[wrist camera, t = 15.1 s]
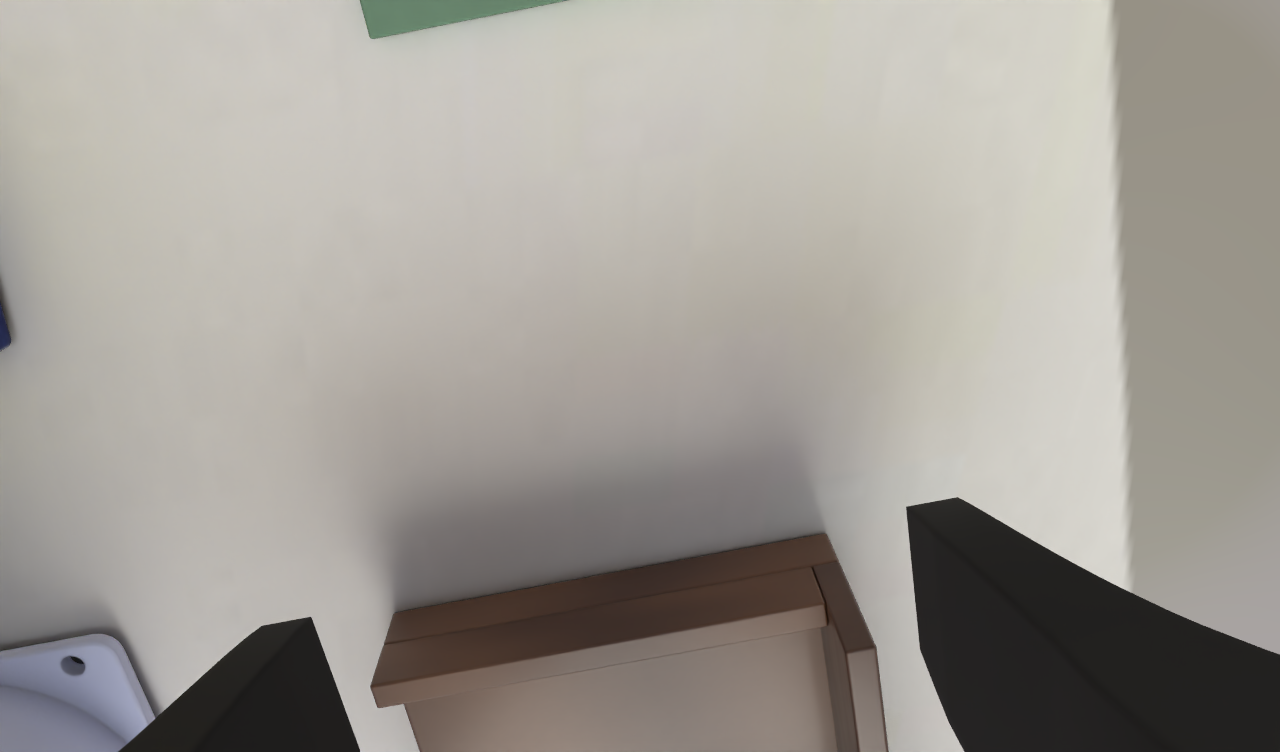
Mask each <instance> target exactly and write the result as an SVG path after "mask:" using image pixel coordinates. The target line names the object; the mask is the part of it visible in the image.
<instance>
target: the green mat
mask: <svg viewBox="0 0 1280 752" xmlns="http://www.w3.org/2000/svg"><path fill="white" fill-rule="evenodd" d="M562 1H567V0H360V3H361V6H362V10H363V14H364V18H365V21H366V25H367V29H368V32H369V36H370V38H371V39H375V38H380V37H386V36H391V35H396V34H401V33H406V32H411V31H416V30H421V29H426V28H431V27H436V26H441V25H446V24H451V23H456V22H461V21H466V20H471V19H476V18H481V17H486V16H491V15H496V14H501V13H506V12H511V11H516V10H521V9H526V8H532V7H537V6H542V5H547V4H552V3H557V2H562Z"/></svg>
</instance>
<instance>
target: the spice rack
mask: <svg viewBox="0 0 1280 752" xmlns="http://www.w3.org/2000/svg"><path fill="white" fill-rule="evenodd" d="M370 687H371V690H372V693H373V696H374V699H375V702H376V705H377V707H378V708H383V707H389V706H394V705H400V704H404V706H405V709H406V712H407V715H408V718H409V721H410V724H411V727H412V730H413V733H414V736H415V739H416V742H417V744H418V747H419V750H420V752H889V751H888V742H887V734H886V725H885V717H884V708H883V700H882V691H881V682H880V674H879V665H878V657H877V648H876V645H875V643H874V641H873V638H872V636H871V634H870V631H869V629H868V627H867V625H866V622H865V620H864V618H863V615H862V613H861V611H860V608H859V606H858V604H857V602H856V599H855V597H854V595H853V592H852V590H851V588H850V585H849V583H848V581H847V579H846V576H845V574H844V572H843V569H842V567H841V565H840V563H839V560H838V558H837V556H836V554H835V551H834V549H833V547H832V544H831V542H830V540H829V537H828V536H827V534H820V535H814V536H809V537H803V538H798V539H793V540H787V541H782V542H776V543H771V544H766V545H760V546H755V547H749V548H744V549H738V550H733V551H728V552H722V553H717V554H711V555H706V556H701V557H695V558H690V559H684V560H679V561H673V562H668V563H663V564H657V565H652V566H646V567H641V568H635V569H630V570H625V571H619V572H614V573H608V574H603V575H598V576H592V577H587V578H581V579H576V580H570V581H565V582H560V583H554V584H549V585H543V586H538V587H533V588H527V589H522V590H516V591H511V592H505V593H500V594H495V595H489V596H484V597H478V598H473V599H468V600H462V601H457V602H451V603H446V604H440V605H435V606H430V607H424V608H419V609H413V610H408V611H402V612H397V613H394V614H393V617H392V620H391V623H390V626H389V629H388V633H387V636H386V639H385V642H384V646H383V648H382V651H381V654H380V657H379V660H378V664H377V667H376V670H375V673H374V676H373V679H372V682H371V686H370Z"/></svg>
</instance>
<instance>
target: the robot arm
mask: <svg viewBox="0 0 1280 752" xmlns="http://www.w3.org/2000/svg"><path fill="white" fill-rule="evenodd" d="M906 510H907V520H908V530H909V540H910V551H911V561H912V571H913V581H914V592H915V602H916V612H917V622H918V633H919V643H920V650H921V653H922V655H923V658H924V660H925V663H926V666H927V668H928V671H929V673H930V676H931V679H932V681H933V684H934V686H935V689H936V692H937V694H938V696H939V699H940V701H941V704H942V706H943V709H944V711H945V714H946V716H947V719H948V721H949V723H950V725H951V727H952V729H953V731H954V733H955V735H956V737H957V738H958V740H959V742H960V744H961V746H962V748H963V749H964V751H965V752H1280V655H1279V654H1276V653H1274V652H1270V651H1268V650H1265V649H1262V648H1260V647H1257V646H1255V645H1252V644H1250V643H1247V642H1244V641H1242V640H1239V639H1236V638H1234V637H1231V636H1229V635H1226V634H1224V633H1221V632H1219V631H1216V630H1213V629H1211V628H1208V627H1206V626H1203V625H1200V624H1198V623H1196V622H1194V621H1191V620H1189V619H1187V618H1184V617H1182V616H1180V615H1177V614H1175V613H1173V612H1170V611H1168V610H1166V609H1164V608H1162V607H1160V606H1158V605H1156V604H1153V603H1151V602H1149V601H1147V600H1145V599H1143V598H1141V597H1139V596H1137V595H1135V594H1133V593H1130V592H1128V591H1126V590H1124V589H1122V588H1120V587H1118V586H1116V585H1114V584H1112V583H1110V582H1108V581H1106V580H1104V579H1102V578H1100V577H1098V576H1096V575H1094V574H1093V573H1091V572H1089V571H1087V570H1085V569H1083V568H1081V567H1079V566H1078V565H1076V564H1074V563H1072V562H1070V561H1068V560H1067V559H1065V558H1063V557H1061V556H1059V555H1058V554H1056V553H1054V552H1052V551H1050V550H1049V549H1047V548H1045V547H1043V546H1042V545H1040V544H1038V543H1036V542H1035V541H1033V540H1031V539H1029V538H1028V537H1026V536H1024V535H1023V534H1021V533H1019V532H1017V531H1016V530H1014V529H1012V528H1011V527H1009V526H1007V525H1005V524H1004V523H1002V522H1000V521H999V520H997V519H995V518H993V517H992V516H990V515H988V514H987V513H985V512H983V511H982V510H980V509H978V508H976V507H975V506H973V505H971V504H969V503H967V502H965V501H964V500H962V499H960V498H958V497H957V498H952V499H946V500H941V501H935V502H930V503H924V504H919V505H914V506H908V507H906ZM70 656H75V657H77V658H79V659H81V660H82V661H83V662H84V664H78V663H76V662H74V661H73V660H72V659H71V658H70ZM0 752H360V749H359V746H358V744H357V741H356V738H355V735H354V733H353V730H352V727H351V724H350V722H349V719H348V716H347V714H346V711H345V708H344V705H343V703H342V700H341V697H340V694H339V692H338V689H337V686H336V683H335V681H334V678H333V675H332V672H331V670H330V667H329V664H328V662H327V659H326V656H325V653H324V651H323V648H322V645H321V642H320V640H319V637H318V634H317V631H316V629H315V626H314V623H313V620H312V618H311V617H308V618H302V619H297V620H291V621H286V622H281V623H275V624H270V625H264V626H261V627H260V628H259V629H257V630H256V631H255V632H253V633H252V634H250V635H249V636H248V637H247V638H245V639H244V640H243V641H242V642H241V643H239V644H238V645H237V646H236V647H235V648H233V649H232V650H231V651H230V652H229V653H228V654H227V655H225V656H224V657H223V658H222V659H221V660H220V661H219V662H217V663H216V664H215V665H214V666H213V667H212V668H211V669H210V670H209V671H207V672H206V673H205V674H204V675H203V676H202V677H201V678H200V679H199V680H198V681H196V682H195V683H194V684H193V685H192V686H191V687H190V688H189V689H188V690H187V691H185V692H184V693H183V694H182V695H181V696H180V697H179V698H178V699H177V700H175V701H174V702H173V703H172V704H171V705H170V706H169V707H168V708H167V709H166V710H164V711H163V712H162V713H161V714H160V715H159V716H158V717H157V718H155V716H154V714H153V712H152V709H151V707H150V705H149V703H148V701H147V698H146V696H145V694H144V692H143V690H142V687H141V685H140V683H139V681H138V679H137V676H136V674H135V672H134V670H133V668H132V665H131V663H130V661H129V659H128V657H127V654H126V652H125V650H124V648H123V647H122V645H121V644H120V642H119V641H117V640H116V639H114V638H113V637H112V636H108V635H105V634H90V635H85V636H80V637H74V638H69V639H63V640H58V641H53V642H47V643H42V644H36V645H31V646H26V647H20V648H15V649H9V650H4V651H0Z"/></svg>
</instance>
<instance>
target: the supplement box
mask: <svg viewBox="0 0 1280 752" xmlns="http://www.w3.org/2000/svg"><path fill="white" fill-rule="evenodd" d="M10 343H11V337H10V334H9V331H8V328H7V324H6V321H5V317H4V313H3V310H2V306H1V302H0V351H2V350H4V349H5V348H7V347H8V346H9V345H10Z"/></svg>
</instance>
